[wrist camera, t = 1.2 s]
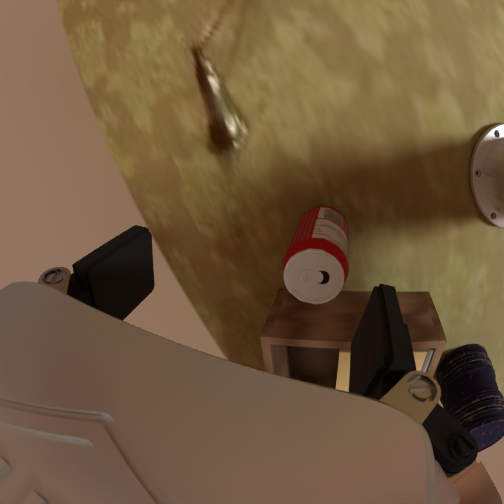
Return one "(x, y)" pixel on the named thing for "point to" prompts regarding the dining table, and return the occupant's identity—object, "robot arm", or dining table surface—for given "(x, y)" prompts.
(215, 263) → the dining table surface
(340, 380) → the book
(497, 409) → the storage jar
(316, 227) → the soda can
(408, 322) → the open wooden box
